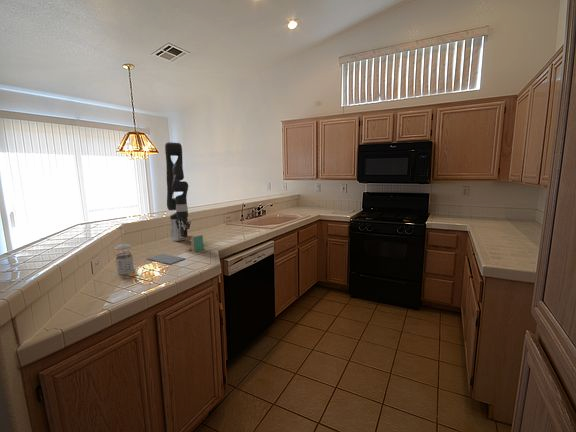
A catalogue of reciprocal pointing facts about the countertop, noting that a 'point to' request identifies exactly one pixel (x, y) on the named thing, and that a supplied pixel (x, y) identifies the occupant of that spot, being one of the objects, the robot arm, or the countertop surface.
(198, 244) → the tile
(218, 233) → the countertop surface
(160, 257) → the mat
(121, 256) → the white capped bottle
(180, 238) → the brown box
